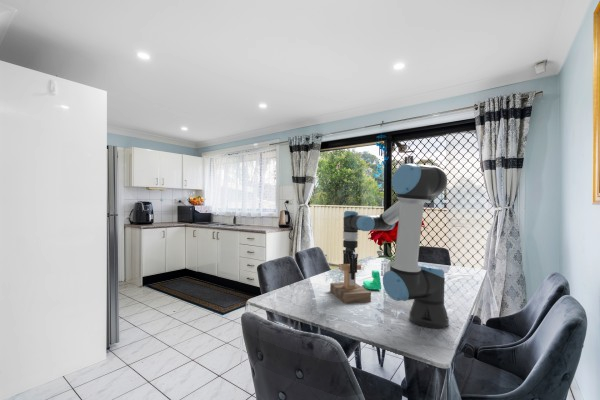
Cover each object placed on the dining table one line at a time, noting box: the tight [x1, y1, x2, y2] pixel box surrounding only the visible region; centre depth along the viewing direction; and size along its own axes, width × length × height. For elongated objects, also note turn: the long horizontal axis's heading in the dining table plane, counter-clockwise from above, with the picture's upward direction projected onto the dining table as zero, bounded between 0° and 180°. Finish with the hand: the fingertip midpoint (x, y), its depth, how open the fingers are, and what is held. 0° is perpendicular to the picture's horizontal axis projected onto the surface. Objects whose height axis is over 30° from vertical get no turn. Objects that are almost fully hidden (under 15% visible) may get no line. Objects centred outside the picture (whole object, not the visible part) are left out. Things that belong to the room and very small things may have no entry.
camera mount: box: [362, 270, 382, 290], centre depth 167 cm, size 12×8×10 cm, turn 1°
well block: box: [329, 281, 372, 304], centre depth 151 cm, size 20×14×4 cm
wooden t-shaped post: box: [338, 262, 362, 290], centre depth 151 cm, size 4×11×15 cm, turn 105°
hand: (349, 283), depth 151 cm, fingers closed on wooden t-shaped post, 4 cm apart
